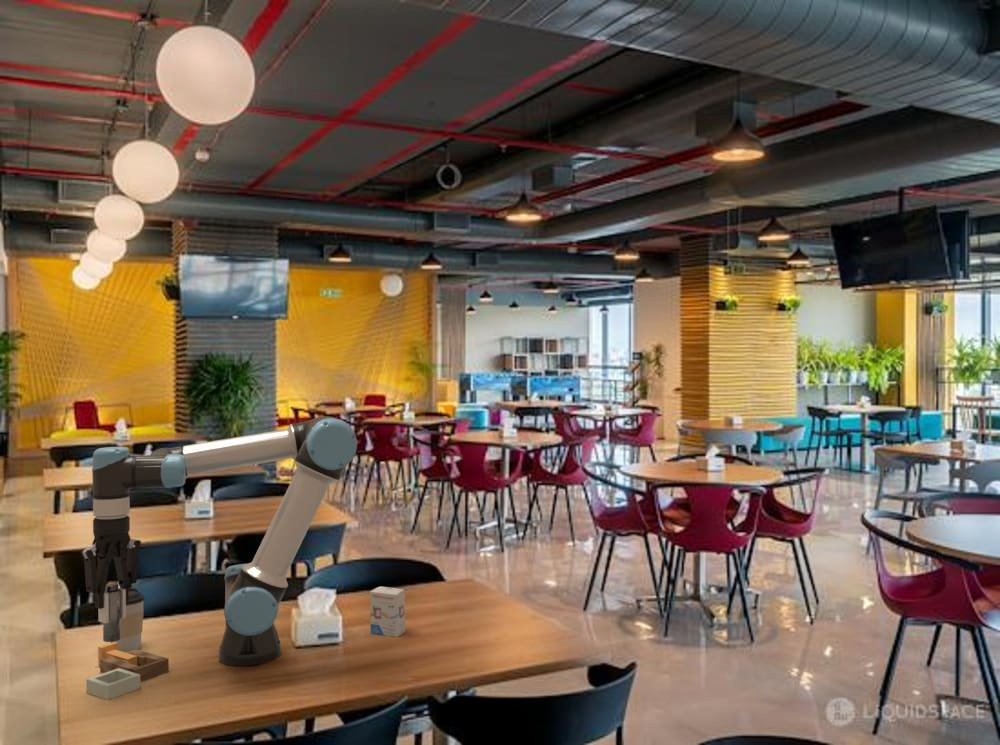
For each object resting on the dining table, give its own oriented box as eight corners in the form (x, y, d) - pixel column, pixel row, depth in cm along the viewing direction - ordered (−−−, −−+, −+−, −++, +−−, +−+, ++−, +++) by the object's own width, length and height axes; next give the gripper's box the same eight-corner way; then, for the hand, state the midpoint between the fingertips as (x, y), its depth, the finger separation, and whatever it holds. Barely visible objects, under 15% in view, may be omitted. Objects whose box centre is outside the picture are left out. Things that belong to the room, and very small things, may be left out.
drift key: (140, 667, 203) (140, 649, 203) (124, 673, 200) (124, 654, 200) (114, 659, 209) (114, 641, 209) (98, 664, 205) (98, 646, 205)
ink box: (369, 633, 228) (368, 590, 228) (378, 628, 233) (378, 585, 233) (396, 637, 225) (396, 593, 225) (405, 631, 230) (405, 588, 229)
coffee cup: (130, 656, 212) (129, 597, 211) (98, 654, 213) (98, 595, 213) (152, 644, 221) (151, 587, 220) (121, 642, 222) (121, 585, 222)
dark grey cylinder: (124, 638, 190) (124, 585, 190) (109, 643, 187) (109, 588, 187) (114, 635, 192) (114, 582, 192) (99, 640, 189) (99, 586, 189)
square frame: (140, 687, 191) (140, 674, 191) (107, 699, 184) (107, 686, 184) (119, 680, 195) (119, 668, 195) (86, 692, 188) (86, 679, 188)
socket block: (168, 671, 201) (168, 658, 201) (134, 683, 194) (134, 670, 194) (134, 660, 208) (134, 648, 208) (100, 672, 201) (100, 659, 201)
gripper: (134, 509, 198) (135, 607, 198) (66, 520, 184) (67, 626, 184) (154, 512, 194) (154, 612, 195) (86, 523, 180) (87, 632, 180)
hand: (112, 619), depth 189 cm, fingers closed on dark grey cylinder, 3 cm apart
